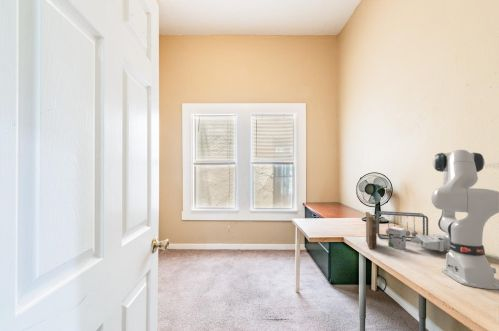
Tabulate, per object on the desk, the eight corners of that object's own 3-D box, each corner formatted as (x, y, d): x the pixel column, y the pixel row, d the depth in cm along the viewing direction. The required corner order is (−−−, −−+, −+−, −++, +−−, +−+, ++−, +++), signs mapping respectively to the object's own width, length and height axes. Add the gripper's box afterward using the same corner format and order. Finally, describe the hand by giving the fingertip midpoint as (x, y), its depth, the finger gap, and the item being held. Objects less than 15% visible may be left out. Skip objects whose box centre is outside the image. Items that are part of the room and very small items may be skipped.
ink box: (387, 246, 166) (387, 227, 166) (393, 245, 168) (393, 226, 168) (401, 249, 158) (400, 229, 158) (406, 248, 160) (406, 229, 161)
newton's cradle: (424, 239, 184) (424, 213, 184) (428, 243, 174) (428, 215, 174) (376, 235, 195) (376, 210, 195) (377, 238, 185) (377, 212, 185)
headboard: (377, 249, 157) (377, 217, 158) (368, 249, 159) (368, 216, 159) (373, 241, 176) (373, 212, 177) (365, 240, 178) (365, 211, 178)
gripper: (432, 233, 166) (406, 231, 171) (444, 241, 147) (415, 238, 151) (432, 243, 166) (406, 241, 171) (444, 252, 147) (415, 250, 151)
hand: (411, 240), depth 161 cm, fingers closed
